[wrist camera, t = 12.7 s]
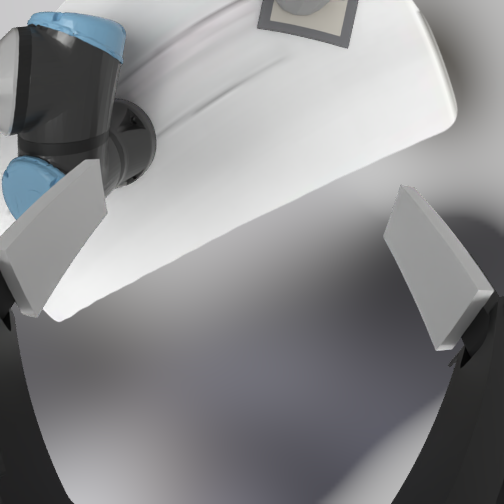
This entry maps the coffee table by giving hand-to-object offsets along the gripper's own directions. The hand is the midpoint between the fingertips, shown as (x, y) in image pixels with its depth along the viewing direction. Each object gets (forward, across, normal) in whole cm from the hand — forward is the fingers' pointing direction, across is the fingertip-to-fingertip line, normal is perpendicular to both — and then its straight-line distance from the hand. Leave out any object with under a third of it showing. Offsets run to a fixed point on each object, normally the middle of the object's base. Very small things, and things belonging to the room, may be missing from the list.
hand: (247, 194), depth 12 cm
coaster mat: (+34, +6, +16) cm, 39 cm away
